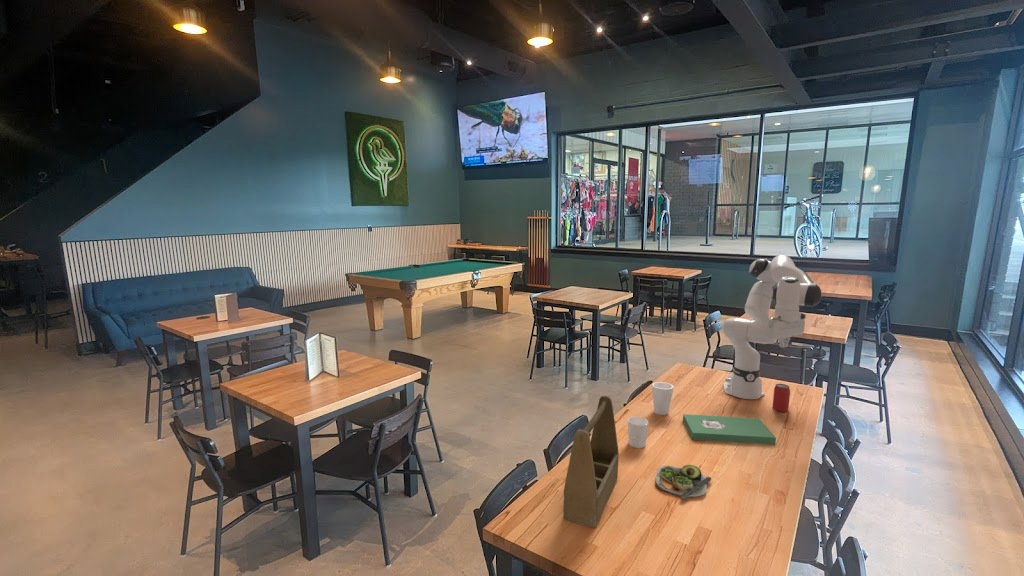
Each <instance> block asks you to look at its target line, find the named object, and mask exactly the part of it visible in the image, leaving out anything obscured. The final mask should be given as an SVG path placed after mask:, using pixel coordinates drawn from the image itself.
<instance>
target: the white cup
mask: <svg viewBox="0 0 1024 576" xmlns="http://www.w3.org/2000/svg"><path fill="white" fill-rule="evenodd" d="M648 431H649V420H648V419H646V418H645V417H641V416H631V417H629V418H628V419H627V437H628V445H629V446H630V447H632V448H636V449H643V448H645V447H646V446H647V445H646V444H647V439H648V438H647V437H648Z"/></svg>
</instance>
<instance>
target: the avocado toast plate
mask: <svg viewBox="0 0 1024 576" xmlns="http://www.w3.org/2000/svg"><path fill="white" fill-rule="evenodd" d="M663 480H664V481H666V482H668V483H671V484H672V486H673V488H674V489H672V488H668V487H666V486H665V485H664V483H663ZM711 481H712V478H711V477H710V476H705V475H704V474H702V472H701V469H700V468H699V467H698V466H696V465H694V464H685V465H683V466H682V467H678V466H674V465H663V466H660V467H658V469H657V471H656V476H655V484H656V486H658V488H659V489H661V490H662V491H663V492H665V493H667V494H669V495H673V496H678V497H679V498H680V499H682V500H685V499H688V498H697V497H698V498H699V497H702V496H704V495H705V494H706V493H707V484H709V483H710V482H711Z"/></svg>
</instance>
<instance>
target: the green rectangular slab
mask: <svg viewBox="0 0 1024 576" xmlns="http://www.w3.org/2000/svg"><path fill="white" fill-rule="evenodd" d="M682 421H683V424H684V425H685V427H686V430H687V431H688V434H689V435H690V437H691V439H692V440H693V441H694V440H695V441H696V440H697V441H711V442H712V441H713V442H725V443H727V442H729V443H740V444H741V443H743V444H759V445H776V442H777V441H776V440H777V437H776V435H774V433H773V432H772V431H771V430H770V429H769V428H768V426H766V424H765V423H764V422H763V421H762V420H761V419H760V418H757V417H741V416H738V417H737V416H722V415H705V414H703V415H702V414H687V413H686V414H682ZM710 422H716V423H717V424H718V425H719V427H709V423H710Z"/></svg>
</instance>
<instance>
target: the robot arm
mask: <svg viewBox="0 0 1024 576" xmlns="http://www.w3.org/2000/svg"><path fill="white" fill-rule="evenodd" d="M748 269H749V272H748V273H749V276H750V277H752V278H753V279H755V280H758V281H757V282H755V283H754V284H753V285H752V287H751V289H750V290H749V292H748V296H747V298H746V303H745V305H744V313H745V314H746V315H747V317H749V318H751V319H749V318H740V317H731V318H727V319H725V320H724V322H723V324H722V327H721V330H722V333H723V334H724V336H725V337H726V338H727V339H728V340H729V341H730V343H731V344H732V346H733V348H734V358H735V360H734V365H733V368H732V372H731V373H730V374H729V375H727V377H725V382H722V386H723V390H724V393H725V394H726V395H730V396H732V397H733V396H734V397H736V398H740V399H743V400H744V399H745V400H759V399H760V398H761V397H764V396H765V392H763V380H762V379H761V378H760V374H761V369H760V361H761V355H760V353H759V352H758V350H756V348H753V347H752V346H751V344H750V343H755V344H756V343H757V344H761V345H767V344H768V345H769V344H770V345H772V344H775V343H776V342H777V341H778V343H779V345H778V346H779V347H780V348H787V347H788V345H789V342H790V341H791V337H795V336H797V337H798V336H801V335H803V334H804V332H805V325H806V318H807V314H806V313H804V312H801V311H800V306H802V307H803V306H805V307H809V308H810V307H811V308H813V307H815V306H817V305H819V303H820V302H821V300H822V288H821V287H820V286H819V285H818V284H817V283H815V282H814V280H812V278H811V277H810V275H809V274H808V273H807V272H805V270H801V269H800V268H798V267H797V266H796V265H795V263H794V260H793V259H792V258H791V257H790V256H787V255H785V254H779V255H776V256H775V257H773V259H772V260H771V261H770V260H768V258H758V259H755V260H754V261H753V262H752V263H751V264H750V266H749V268H748ZM772 301H774V303H776V304H775V307H774V316H772V317H770V316H769V314H770V313H769V312H770V309H771V304H772Z"/></svg>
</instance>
